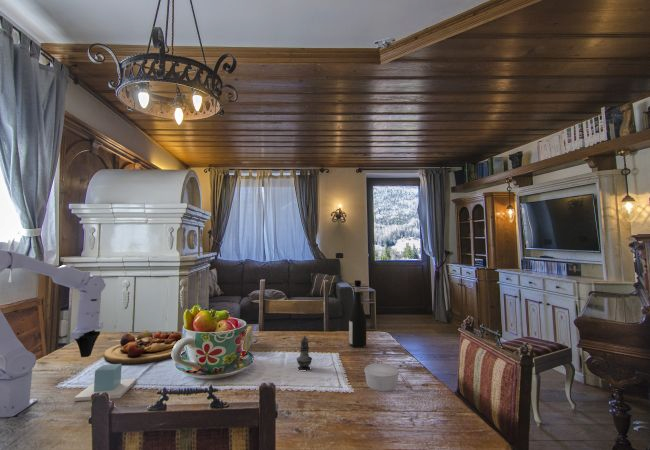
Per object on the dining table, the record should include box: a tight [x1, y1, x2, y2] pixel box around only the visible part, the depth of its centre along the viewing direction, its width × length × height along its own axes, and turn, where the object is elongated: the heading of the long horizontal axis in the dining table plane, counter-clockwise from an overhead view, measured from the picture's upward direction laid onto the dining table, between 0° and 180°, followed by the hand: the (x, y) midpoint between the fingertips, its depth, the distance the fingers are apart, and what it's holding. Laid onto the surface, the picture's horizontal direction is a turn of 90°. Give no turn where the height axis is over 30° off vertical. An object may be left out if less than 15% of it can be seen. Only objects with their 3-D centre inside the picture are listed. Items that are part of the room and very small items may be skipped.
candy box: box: [243, 325, 253, 352], centre depth 143 cm, size 16×2×8 cm, turn 4°
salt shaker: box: [296, 335, 313, 372], centre depth 119 cm, size 6×6×12 cm
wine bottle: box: [348, 279, 367, 348], centre depth 150 cm, size 8×8×30 cm
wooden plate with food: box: [103, 329, 182, 365], centre depth 137 cm, size 32×32×8 cm
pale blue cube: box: [93, 363, 123, 392], centre depth 99 cm, size 5×5×6 cm
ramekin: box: [363, 363, 400, 392], centre depth 105 cm, size 11×11×5 cm
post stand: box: [73, 378, 137, 402], centre depth 99 cm, size 12×12×5 cm
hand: (85, 356), depth 102 cm, fingers closed
